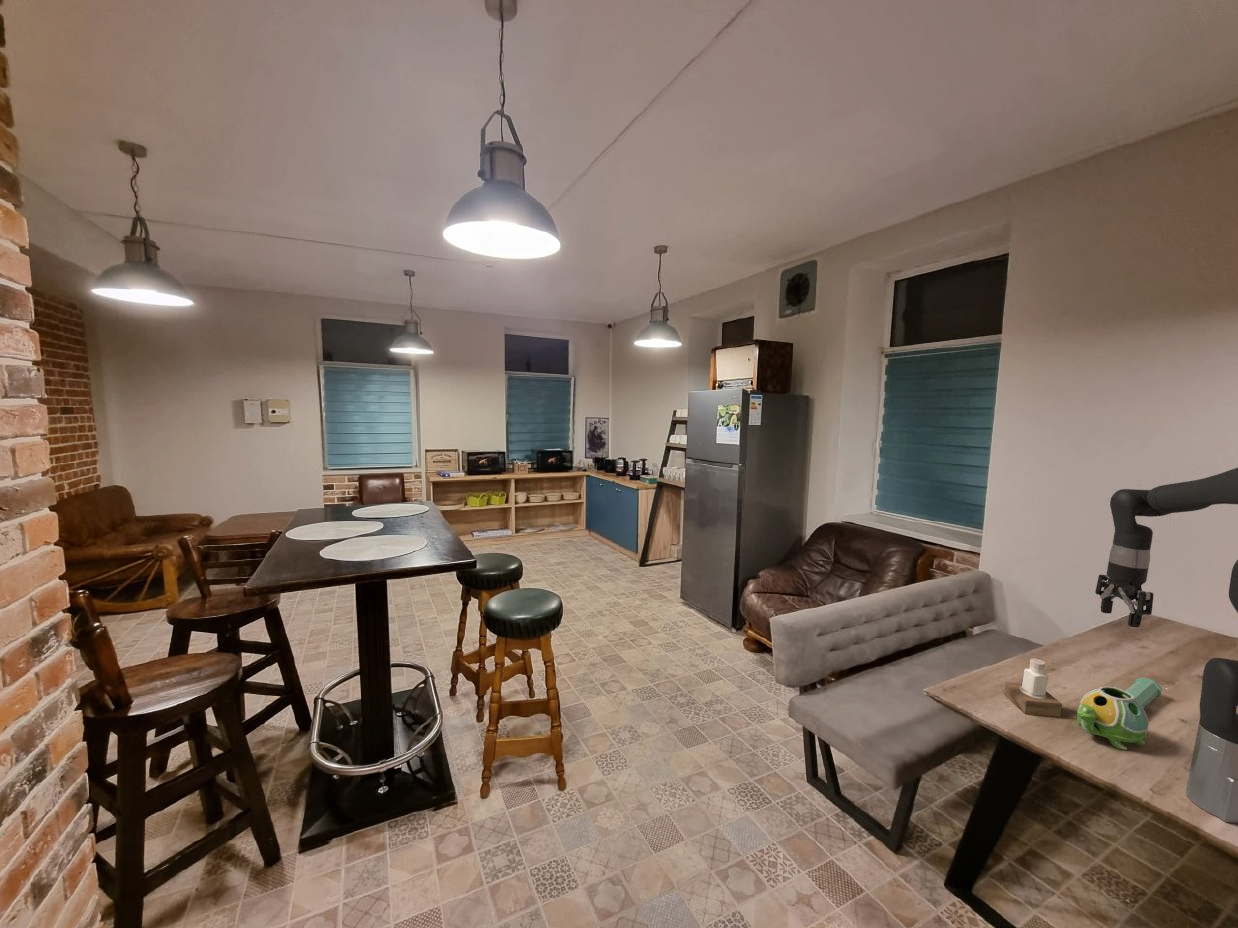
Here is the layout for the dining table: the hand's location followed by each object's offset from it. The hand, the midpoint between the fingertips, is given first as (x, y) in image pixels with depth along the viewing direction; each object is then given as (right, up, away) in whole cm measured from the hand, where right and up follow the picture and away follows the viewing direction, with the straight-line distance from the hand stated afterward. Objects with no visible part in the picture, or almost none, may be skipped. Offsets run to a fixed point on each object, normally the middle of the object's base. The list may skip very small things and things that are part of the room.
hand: (1119, 619), depth 134 cm
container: (+11, -28, +7) cm, 31 cm away
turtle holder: (-9, -29, -5) cm, 31 cm away
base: (-18, -27, +7) cm, 33 cm away
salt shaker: (-18, -23, +6) cm, 30 cm away
